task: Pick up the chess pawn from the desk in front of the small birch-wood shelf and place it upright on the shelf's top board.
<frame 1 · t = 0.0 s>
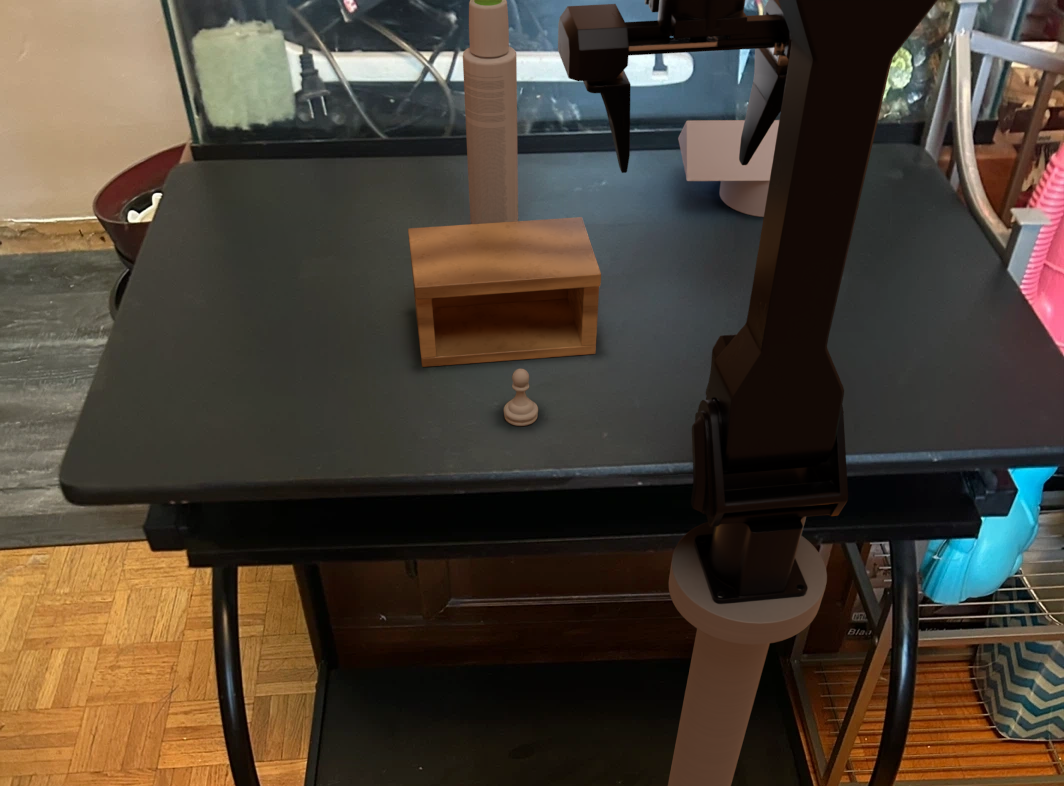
hand: (683, 166, 77), 12 cm above the table, tool pointing down, fingers open, 9 cm apart
wedge on round base: (745, 197, 99), on the table
pawn: (521, 418, 77), on the table
shelf: (503, 333, 84), on the table
bottle: (494, 239, 94), on the table
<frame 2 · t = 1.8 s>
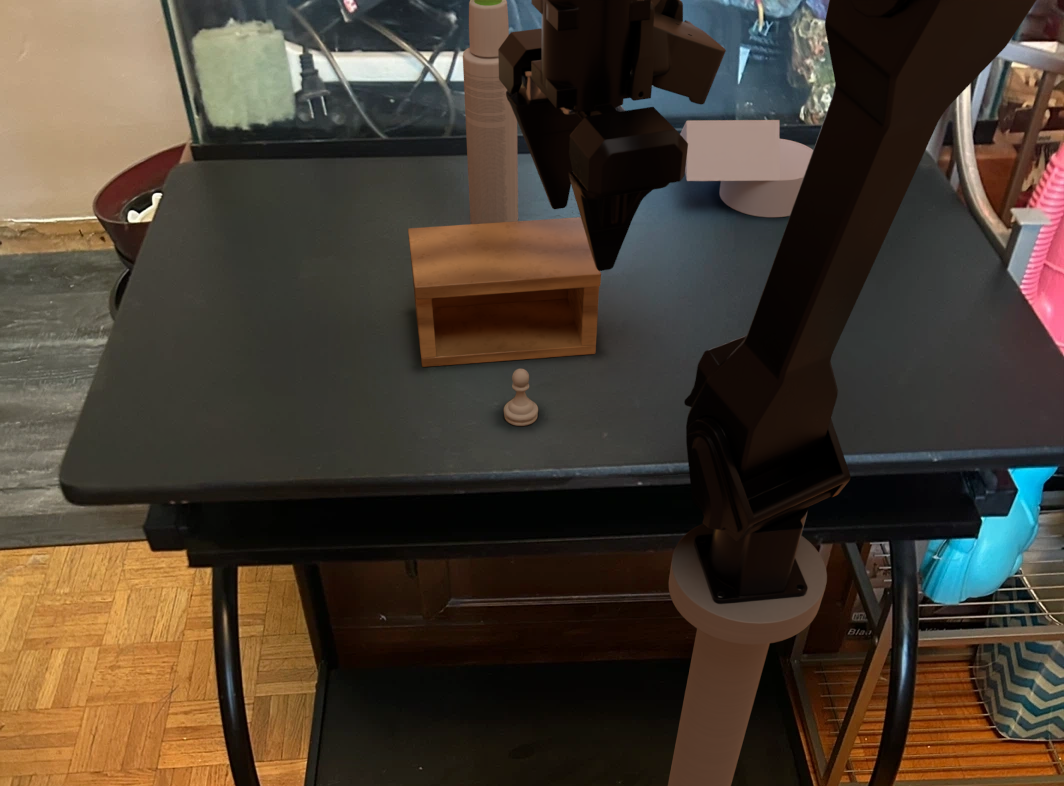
hand: (580, 237, 72), 11 cm above the table, tool pointing down, fingers open, 9 cm apart
nothing on the table moved.
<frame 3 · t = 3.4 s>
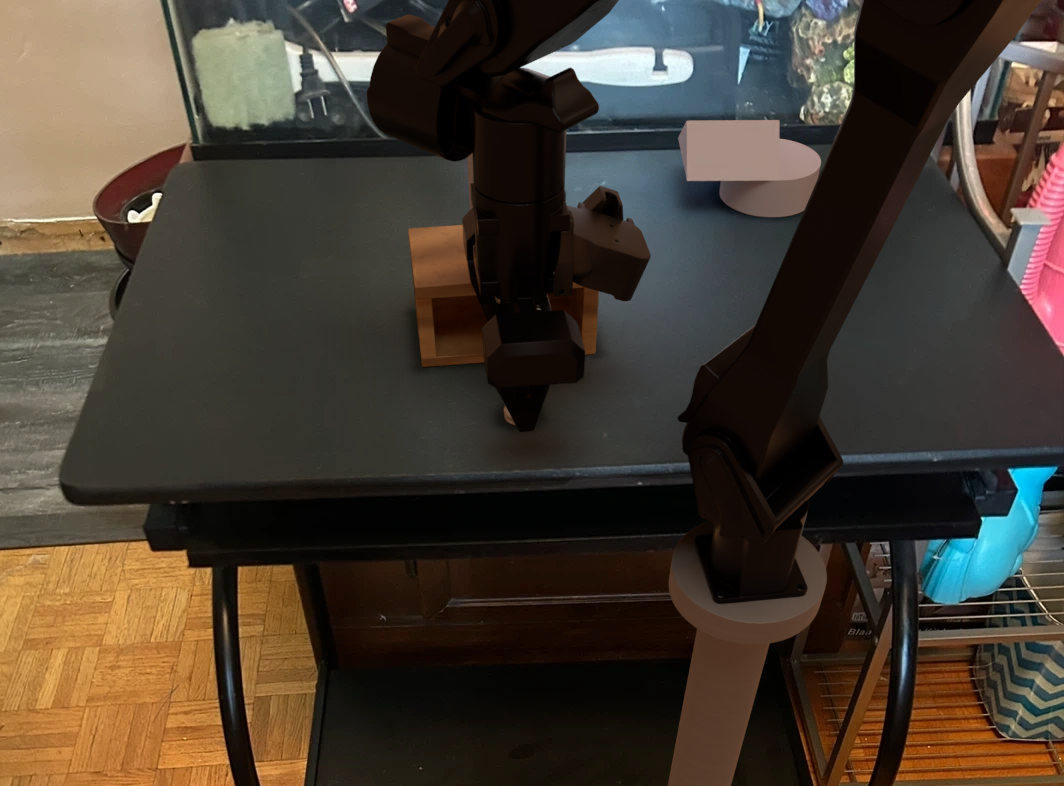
hand: (519, 396, 76), 2 cm above the table, tool pointing down, fingers open, 8 cm apart
nothing on the table moved.
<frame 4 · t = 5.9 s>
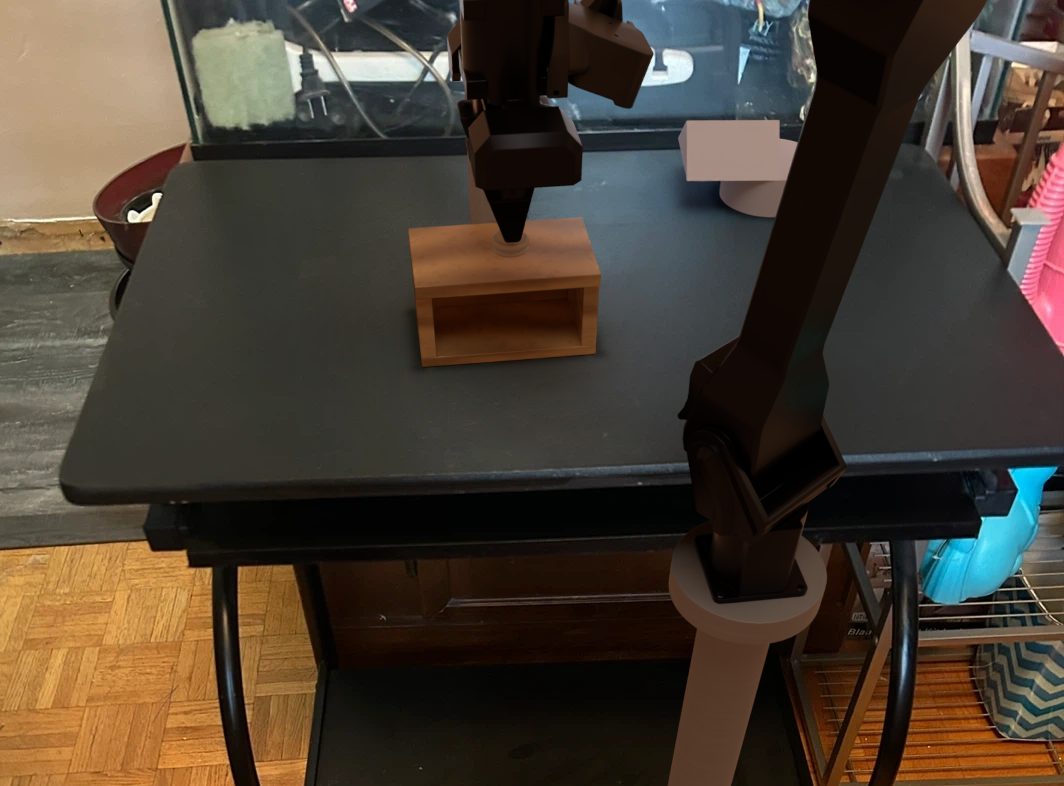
hand: (510, 234, 70), 12 cm above the table, tool pointing down, fingers closed on pawn
pawn: (510, 251, 71), point 11 cm above the table, touching gripper
everything else where it was.
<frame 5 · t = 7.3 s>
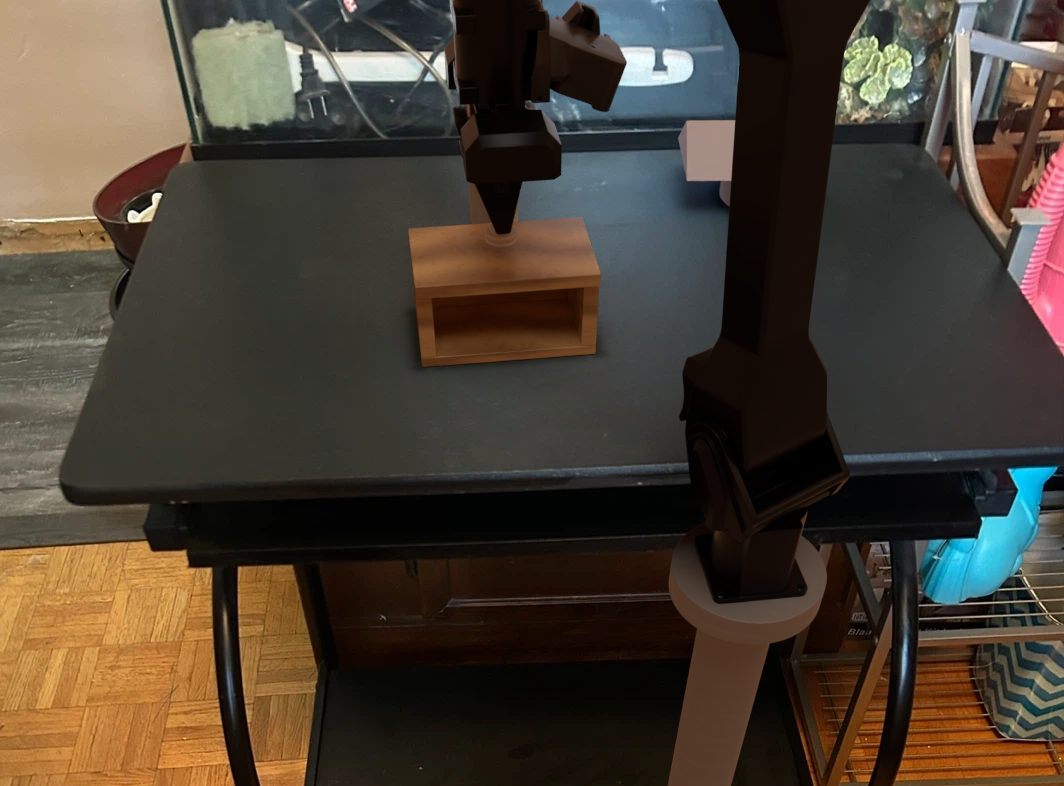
hand: (501, 227, 77), 9 cm above the table, tool pointing down, fingers closed on pawn, 2 cm apart
pawn: (501, 242, 78), point 8 cm above the table, touching gripper
everything else where it was.
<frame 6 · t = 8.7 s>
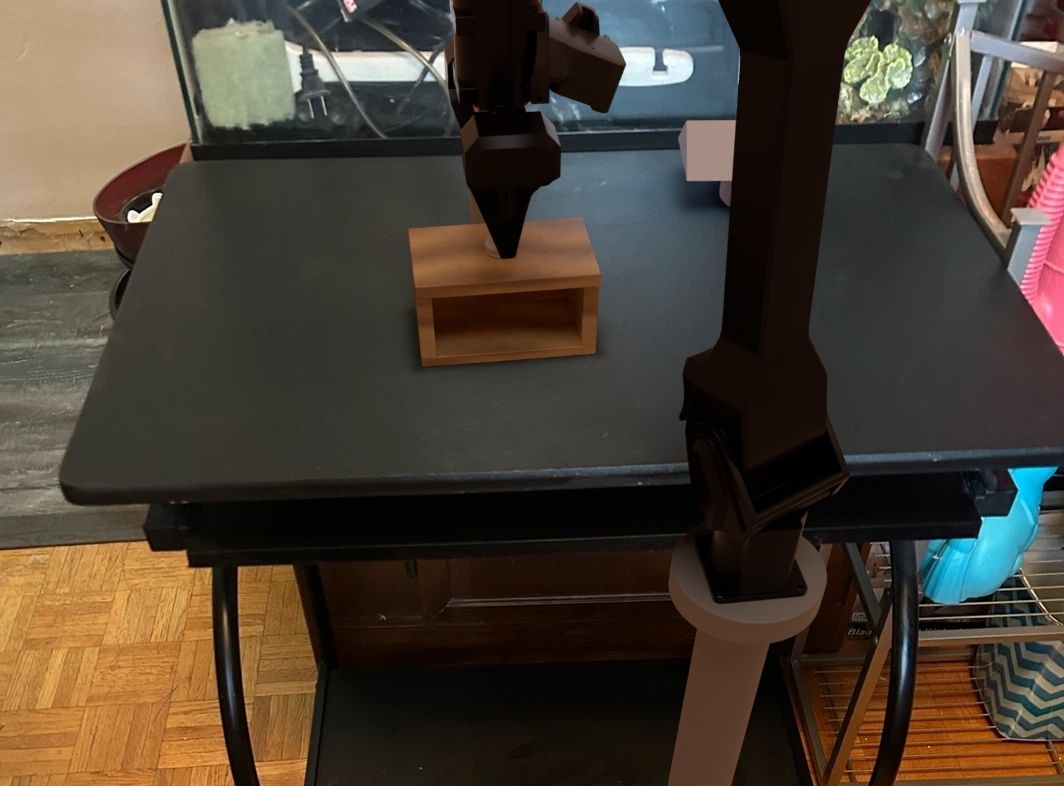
hand: (500, 227, 77), 9 cm above the table, tool pointing down, fingers open, 9 cm apart
pawn: (501, 253, 79), point 7 cm above the table, touching shelf
everything else where it was.
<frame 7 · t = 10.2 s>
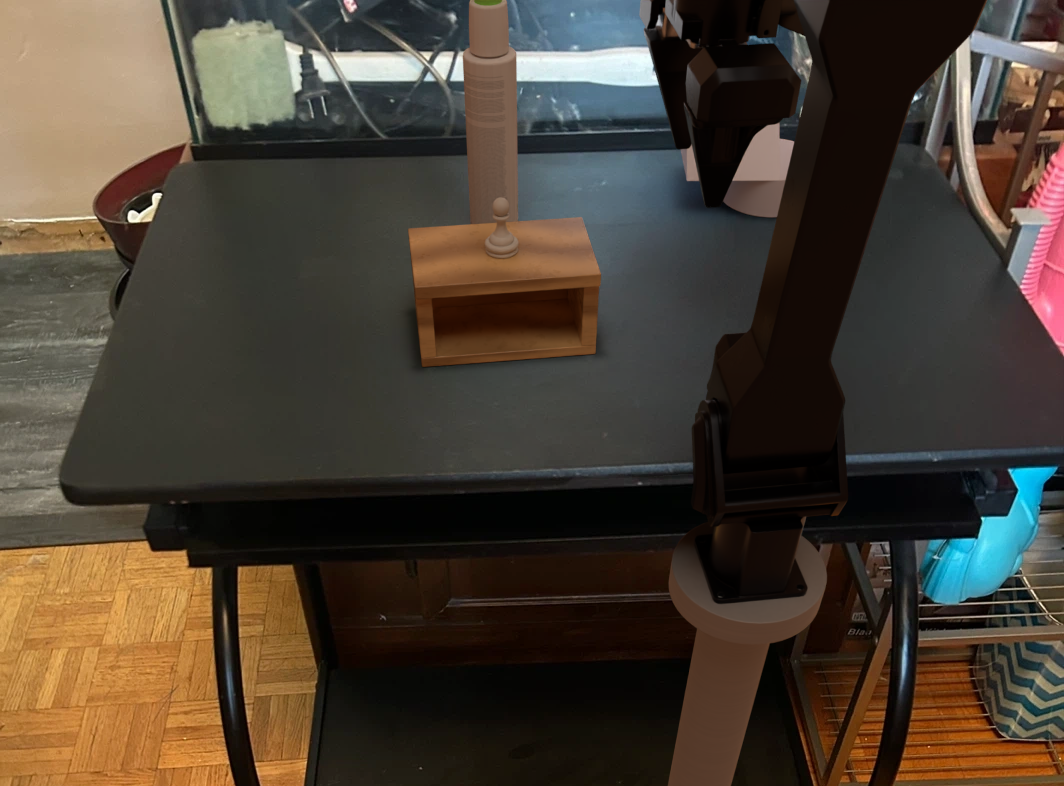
hand: (697, 176, 73), 13 cm above the table, tool pointing down, fingers open, 9 cm apart
nothing on the table moved.
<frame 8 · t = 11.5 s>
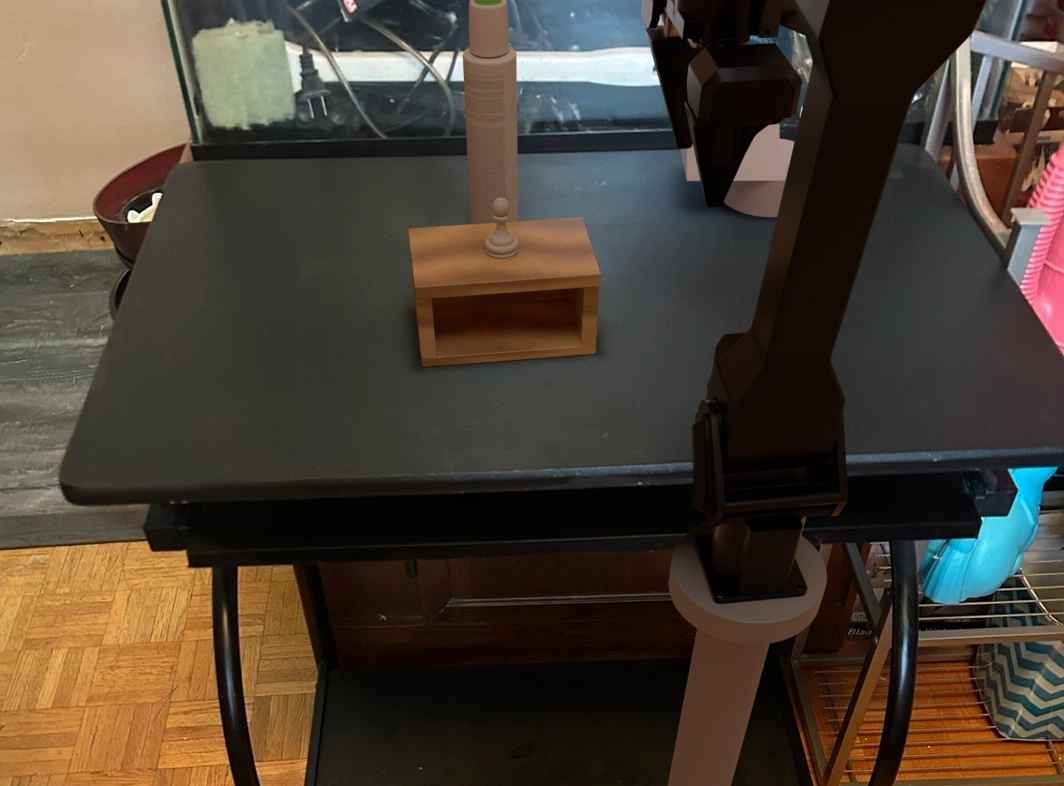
hand: (698, 176, 73), 13 cm above the table, tool pointing down, fingers open, 9 cm apart
nothing on the table moved.
at the end: pawn inside the target area on the shelf (0.1 cm from its centre), point 6.8 cm above the shelf's base; pawn tilted 0°; the gripper is holding nothing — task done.
